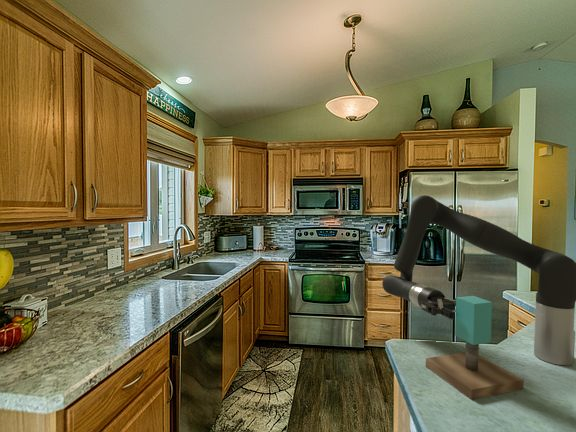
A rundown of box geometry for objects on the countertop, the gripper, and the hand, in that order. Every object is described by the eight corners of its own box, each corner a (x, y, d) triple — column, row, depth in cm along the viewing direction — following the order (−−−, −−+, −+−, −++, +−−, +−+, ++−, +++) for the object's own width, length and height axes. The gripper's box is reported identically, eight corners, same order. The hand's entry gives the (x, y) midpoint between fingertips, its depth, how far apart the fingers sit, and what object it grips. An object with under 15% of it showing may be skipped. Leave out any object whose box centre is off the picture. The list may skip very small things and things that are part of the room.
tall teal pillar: (472, 333, 89) (473, 295, 88) (490, 342, 83) (492, 302, 82) (455, 335, 87) (456, 297, 87) (473, 344, 81) (474, 304, 81)
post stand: (471, 359, 95) (472, 321, 95) (523, 388, 80) (525, 343, 80) (425, 366, 91) (426, 326, 90) (471, 399, 75) (472, 351, 75)
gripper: (408, 288, 101) (445, 303, 85) (444, 285, 104) (486, 299, 89) (407, 310, 101) (445, 330, 85) (443, 307, 105) (485, 325, 89)
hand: (466, 314), depth 87 cm, fingers open, 8 cm apart
